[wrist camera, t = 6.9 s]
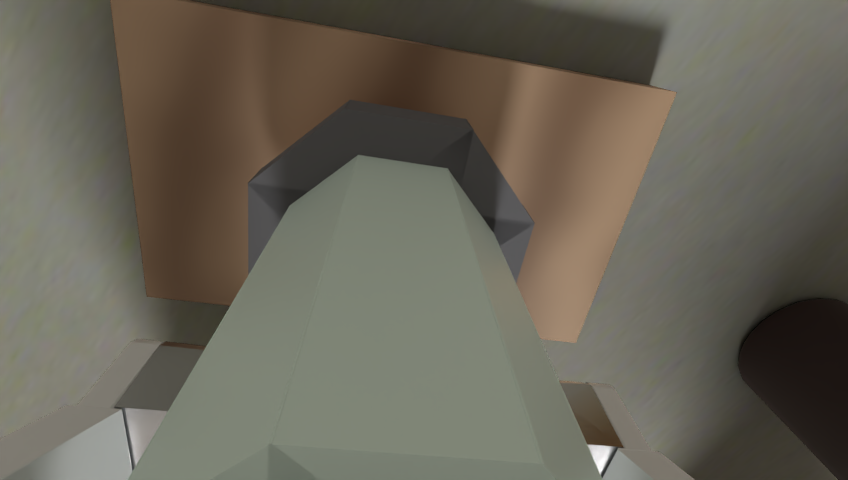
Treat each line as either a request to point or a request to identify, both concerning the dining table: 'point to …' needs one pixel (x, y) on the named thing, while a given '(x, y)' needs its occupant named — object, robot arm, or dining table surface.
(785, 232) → the dining table surface
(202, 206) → the pipe stand
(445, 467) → the sleeve
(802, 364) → the bottle
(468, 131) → the o ring
